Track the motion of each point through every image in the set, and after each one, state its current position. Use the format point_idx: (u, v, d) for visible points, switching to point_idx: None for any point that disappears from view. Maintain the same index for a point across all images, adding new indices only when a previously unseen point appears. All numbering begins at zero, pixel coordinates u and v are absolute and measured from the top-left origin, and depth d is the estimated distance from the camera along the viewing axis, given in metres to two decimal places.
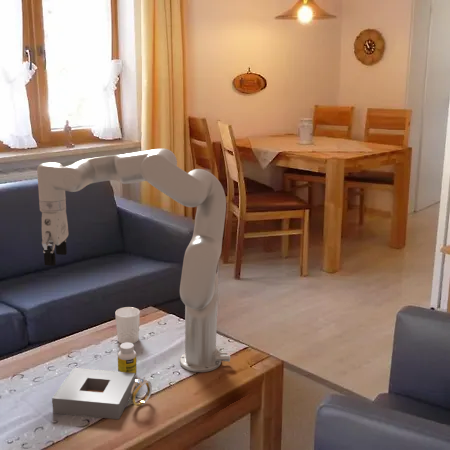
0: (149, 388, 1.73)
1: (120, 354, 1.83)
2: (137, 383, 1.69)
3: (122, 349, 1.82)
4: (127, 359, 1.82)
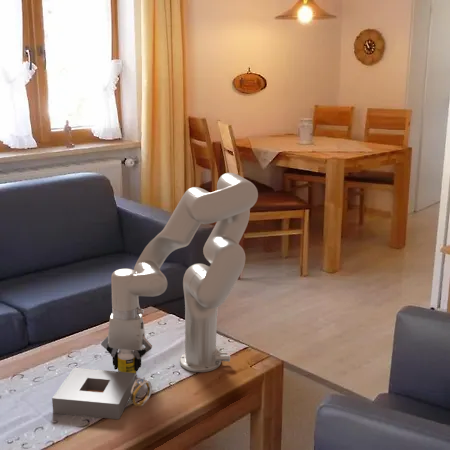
0: (149, 388, 1.73)
1: (120, 354, 1.83)
2: (137, 383, 1.69)
3: (122, 349, 1.82)
4: (127, 359, 1.82)
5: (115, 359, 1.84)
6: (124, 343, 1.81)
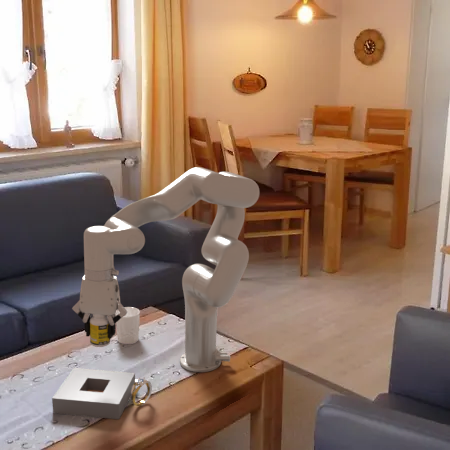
0: (149, 388, 1.73)
1: (92, 319, 1.69)
2: (137, 383, 1.69)
3: (94, 314, 1.68)
4: (100, 325, 1.68)
5: (87, 325, 1.70)
6: (97, 307, 1.67)
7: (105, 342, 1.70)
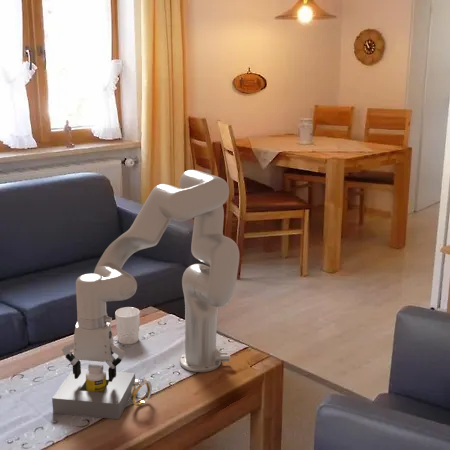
0: (149, 388, 1.73)
1: (88, 374, 1.70)
2: (137, 383, 1.69)
3: (90, 369, 1.69)
4: (96, 380, 1.69)
5: (75, 367, 1.70)
6: (90, 354, 1.67)
7: None
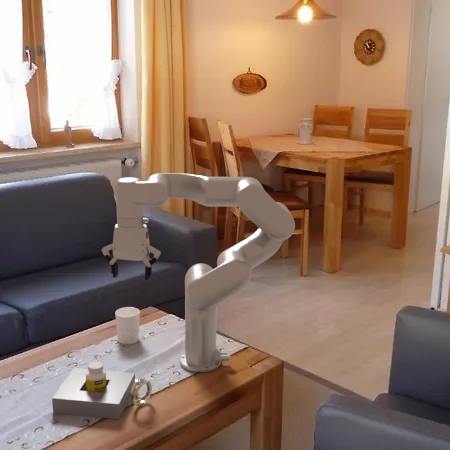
0: (149, 388, 1.73)
1: (88, 374, 1.70)
2: (137, 383, 1.69)
3: (90, 369, 1.69)
4: (96, 380, 1.69)
5: (114, 267, 1.83)
6: (129, 253, 1.80)
7: None
